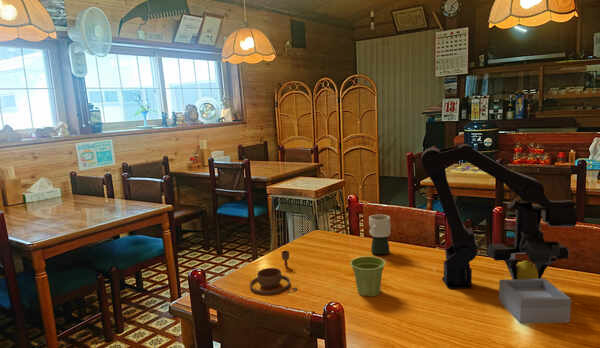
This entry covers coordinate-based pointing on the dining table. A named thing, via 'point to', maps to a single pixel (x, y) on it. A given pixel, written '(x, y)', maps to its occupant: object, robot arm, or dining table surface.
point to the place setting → (272, 278)
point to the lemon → (526, 270)
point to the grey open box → (534, 301)
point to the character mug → (379, 233)
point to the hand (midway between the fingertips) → (525, 281)
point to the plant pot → (368, 274)
